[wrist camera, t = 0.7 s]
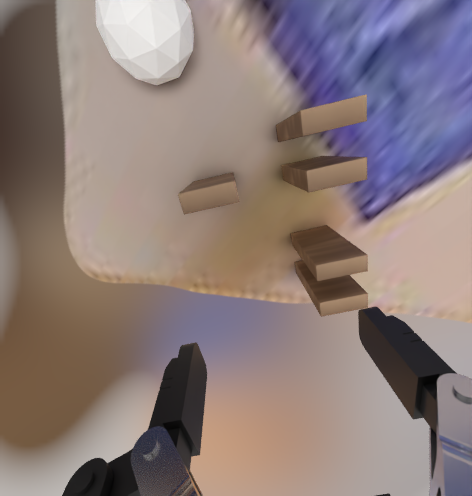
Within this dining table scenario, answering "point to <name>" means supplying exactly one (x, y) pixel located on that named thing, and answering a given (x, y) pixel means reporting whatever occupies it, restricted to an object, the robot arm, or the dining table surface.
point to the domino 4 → (328, 253)
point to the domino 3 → (325, 172)
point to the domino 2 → (323, 118)
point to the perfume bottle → (147, 36)
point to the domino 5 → (332, 292)
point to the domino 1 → (209, 193)
